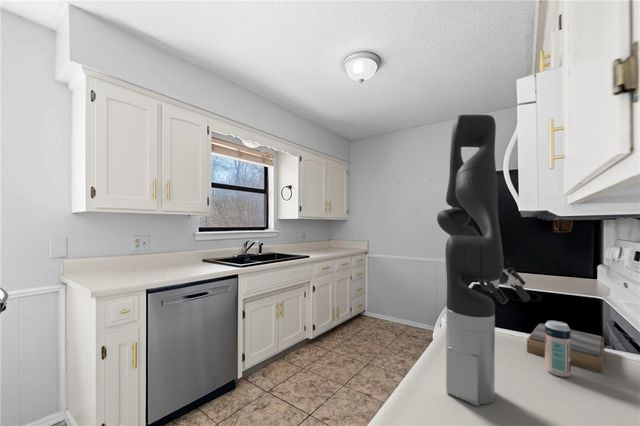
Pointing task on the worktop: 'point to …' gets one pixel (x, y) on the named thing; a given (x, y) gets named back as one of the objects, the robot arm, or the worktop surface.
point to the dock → (573, 348)
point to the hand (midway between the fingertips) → (516, 301)
